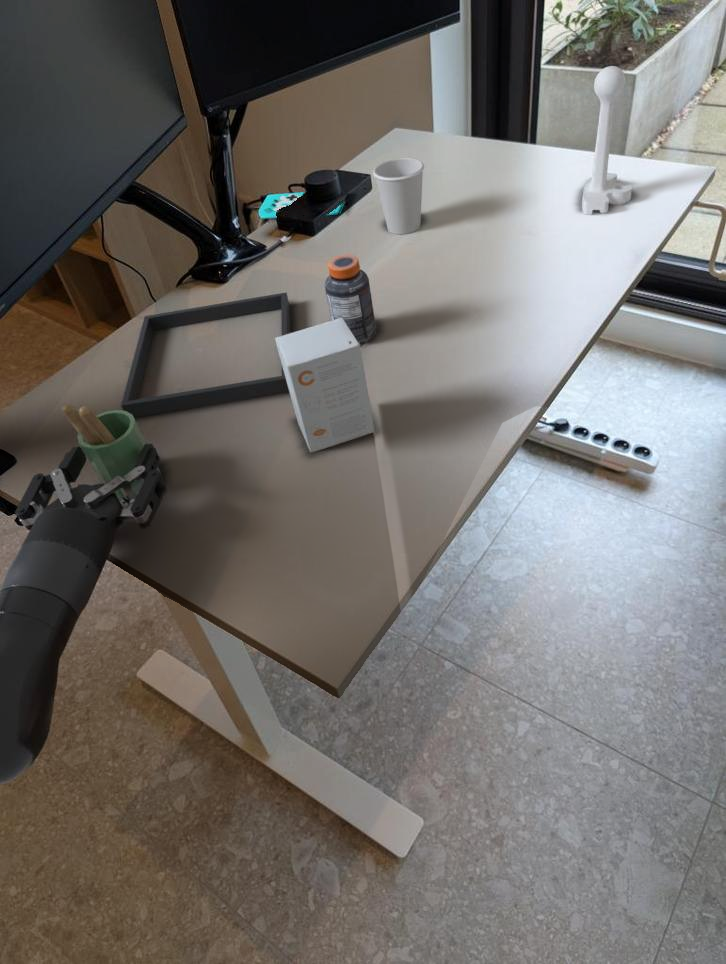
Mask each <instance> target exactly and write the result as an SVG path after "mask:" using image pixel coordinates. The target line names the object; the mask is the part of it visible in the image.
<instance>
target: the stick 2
mask: <svg viewBox="0 0 726 964" xmlns="http://www.w3.org/2000/svg"><path fill="white" fill-rule="evenodd" d="M78 413H79V415H80V416H81V417H82V419H83V420H84V421H85V422H86V423H87V424H88V426H89V427H90V428H91V429H92V430H93V431H94V433H95V434H96V435H97V436H98V437H99V438H100V440H101V441H102V442H103V443H104V444H108V443H110V442H112V441H115V440H116V439H115V438H114V437H113V436H112V434H111V433H110V432H109V431H108V430H107V428H106V427H105V426H104V425H103V423H102V422H101V421H100V420H99V419H98V417H97V416H96V415H97V414H95V413H94V411H93V410H92V408H90V407H89V406H87V405H86V406H85V405H83V406H81V407H80V408H79V409H78Z"/></svg>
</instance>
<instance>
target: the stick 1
mask: <svg viewBox="0 0 726 964" xmlns="http://www.w3.org/2000/svg"><path fill="white" fill-rule="evenodd" d="M61 413H62V414H63V415H64V416H65V418H66V419H67V420H68V422H69V423H70V424H71V425H72V426H73V428H74V429H75V430H76V431H77V433H79V434H80V435H81V436H82V437H83V439H84V440H85V441H86V442H87V444H90V445H103V444H102V443H101V441H100V440H99V439H98V438H97V436H96V435H95V434H94V432H93V431H92V430H91V429H90V427H89V426H88V425H87V423H86V422H85V421H84V420H83V419H82V417H81V416H80V415H79V411H78V410H77V409H76V408H75V406H74V405H72V404H69V403H67V404H65V405H63V406H62V409H61Z"/></svg>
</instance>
